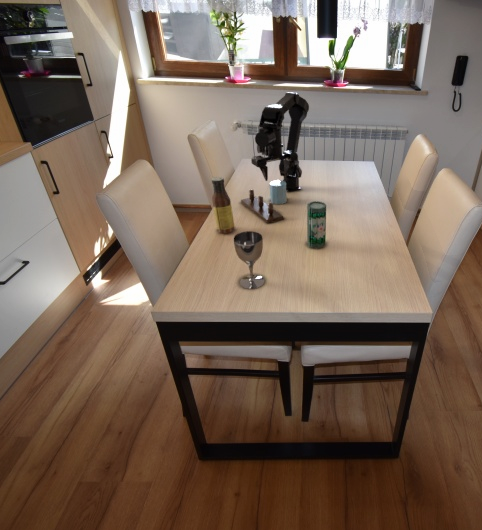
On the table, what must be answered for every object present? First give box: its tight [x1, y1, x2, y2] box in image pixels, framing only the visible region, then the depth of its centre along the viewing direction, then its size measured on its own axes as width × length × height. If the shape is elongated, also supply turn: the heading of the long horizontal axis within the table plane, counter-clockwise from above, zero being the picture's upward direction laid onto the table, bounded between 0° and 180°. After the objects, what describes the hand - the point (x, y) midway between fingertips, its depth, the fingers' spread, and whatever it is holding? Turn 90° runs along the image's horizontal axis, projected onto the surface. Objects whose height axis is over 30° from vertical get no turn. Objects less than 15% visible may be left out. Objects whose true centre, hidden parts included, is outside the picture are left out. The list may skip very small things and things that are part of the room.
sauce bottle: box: [211, 176, 235, 234], centre depth 138 cm, size 7×6×20 cm
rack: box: [240, 188, 284, 224], centre depth 156 cm, size 7×23×6 cm, turn 37°
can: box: [306, 200, 327, 250], centre depth 133 cm, size 6×6×15 cm
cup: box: [269, 179, 288, 205], centre depth 165 cm, size 7×7×8 cm
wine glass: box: [233, 230, 265, 290], centre depth 112 cm, size 8×8×15 cm
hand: (276, 178), depth 162 cm, fingers open, 9 cm apart
